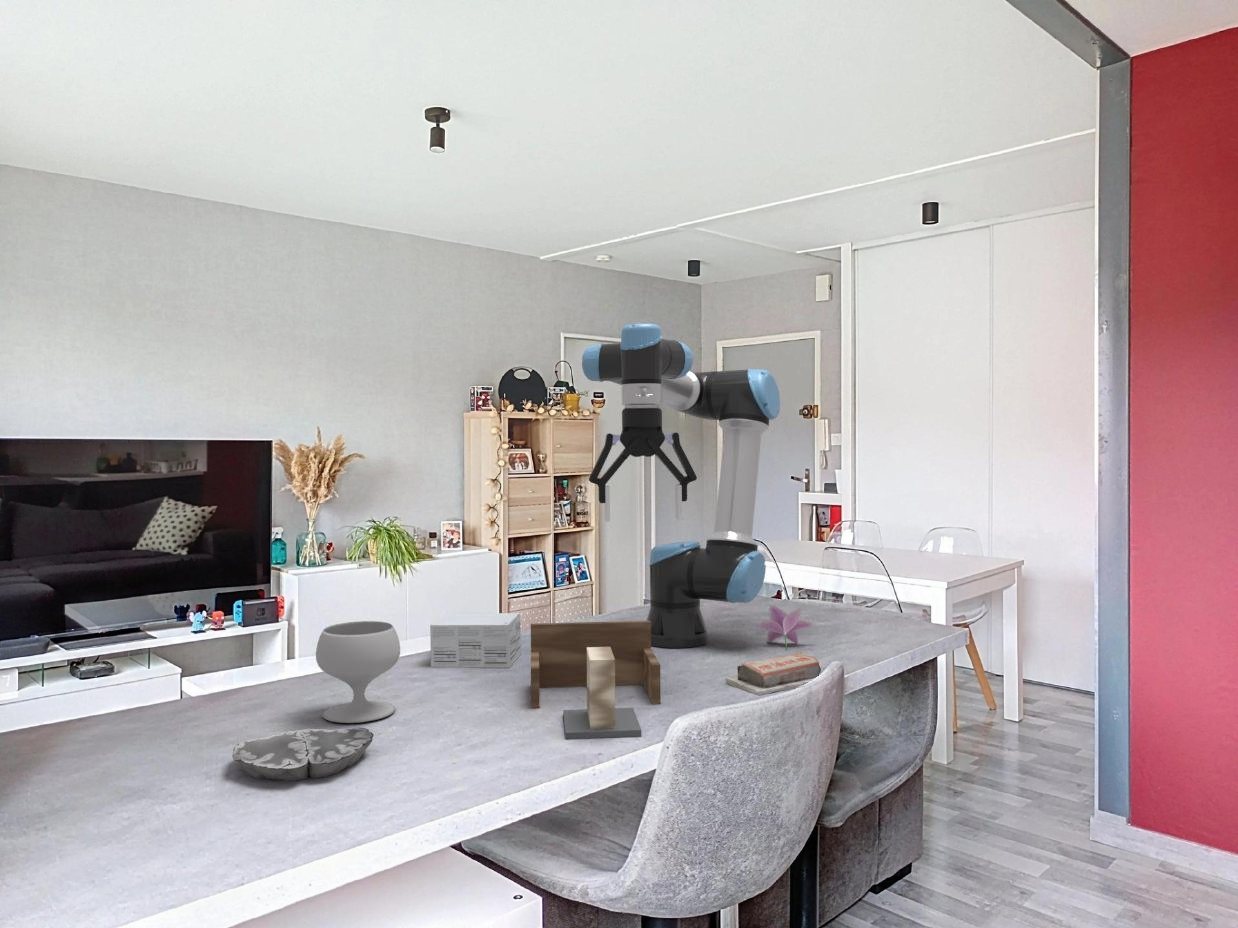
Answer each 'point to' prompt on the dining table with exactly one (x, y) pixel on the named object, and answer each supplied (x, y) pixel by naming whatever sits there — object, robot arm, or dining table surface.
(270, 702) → the dining table surface
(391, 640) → the chalice
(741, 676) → the packaged product
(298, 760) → the brain slice
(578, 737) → the charcoal mat
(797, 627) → the lily
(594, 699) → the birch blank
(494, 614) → the supplement box
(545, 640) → the walnut cubby
